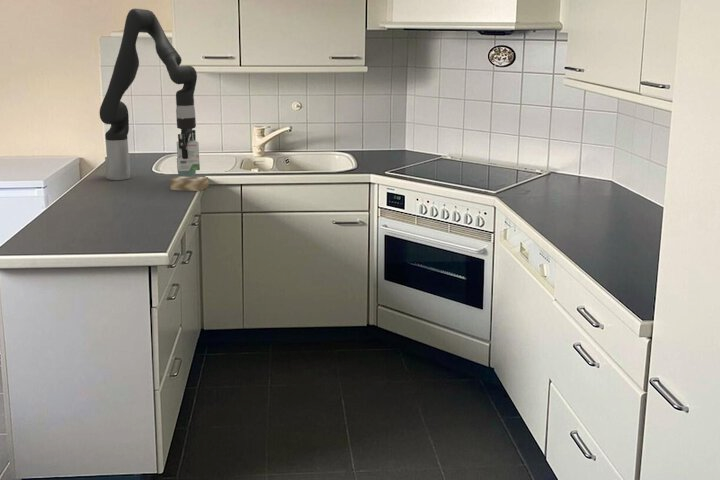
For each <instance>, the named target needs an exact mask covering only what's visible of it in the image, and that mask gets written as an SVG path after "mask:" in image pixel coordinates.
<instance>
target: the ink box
mask: <svg viewBox="0 0 720 480" xmlns="http://www.w3.org/2000/svg"><path fill="white" fill-rule="evenodd" d="M199 144H200V143H199V141H198V140H196V141H190V142H189V144H188V148H187V150H188V158H187V159H183V158H182V150H181V149H179V142H178V141H176V157H177V158H176V160H177V159H178V170H179V171H191V170H196V171H200V167H201V165H200V149H199V148H200V146H199ZM183 146H184V145H183ZM178 170H177V171H178Z"/></svg>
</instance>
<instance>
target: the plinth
mask: <svg viewBox="0 0 720 480" xmlns="http://www.w3.org/2000/svg"><path fill="white" fill-rule="evenodd" d="M169 184H170V191H189V192H190V191H191V192H194V191H195V192H196V191H197V192H202V191H204V190H205V189H207V188H209V186H210V185H209V177H208V176H195V177H185V176H176V177H174V178H172V179H169Z"/></svg>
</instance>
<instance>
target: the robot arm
mask: <svg viewBox="0 0 720 480" xmlns="http://www.w3.org/2000/svg"><path fill="white" fill-rule="evenodd" d="M125 18H126V19H125V23H124V26H123V27H124V28H123V34H122V38H121V43H120V47H119V50H118V53H117V57H116V60H115V64H114V67H113V71H112V74H111V78H110V81H109V85H108V88H107V90H106V92H105V95H104V98H103V99H102V100H103V101H102V103H101V105H100V108H99V118H100V120H101V122H103V124H105V125H110V128H109V129H108V130H107V131H106V132H105V135H104V136H105V137H104V138H105V150H106V156H105V157H104V161H105V175H106V177H105V178H106V180H110V181H111V180H112V181H123V180H129V179H130V178H131V168H130V167H131V166H130V156H129V155H130V154H129V153H130V152H129V141H128V140H129V139H128V135H129V131H130V126H129V124H130V121H129V118H130V116H129V108H128V106H127V105H126V104H125V102H123V101H122V98H123V96H124V94H126V92H127V90H128V89H129V88H130V86H131V85H132V84H133V82H134V81H135V79H136V76H137V72H138V70H139V66H140V59H139V56H138V52H137V51H138V50H137V40H138V36H139V34H140V33H143V34H145V33H147V34H148V35H149V36H150V37H151V38H152V39H153V40H154V46H155V51H156V54H157V56H158V58H159V59H160V60H161V62H162V63H163V64H164V65H165V67H166V71H167V73H168V76H169V78H170V80H171V82H173V83H174V84H176V85H183V86H182V88H181V89H179V90H177V91H176V93H175V104H176V107H175V114H176V115H175V116H176V128H177V129H180V133H178V134H177V139H178V142H179V149H181V150H182V158H183V159H187V158H188V150H187V148H188V144H189V142H190V141H197V140H196V128H197V124H196V123H197V122H196V119H197V118H196V108H195V97H194V95H195V90H196V86H197V85H196V84H197V80H198V73H197V71H196V69H195V68H194V67H193V66H192V65H181V64H182V62H183V61H182V60H183V59H182V57H181V55H180V54H179V53H178V51H177V50H176V49H175V48H174V46H173V44H171V42H170V40H169V38H168V37H167V35H166V32H165V31H164V28H162V25H161V23H160V21H159V19H158V17H157V16H156V15H155V13H154V12H153V11H151V10H150V9H145V8H144V9H143V8H131V10H129V11H128V12H127V15H126V17H125ZM183 145H184V146H183Z"/></svg>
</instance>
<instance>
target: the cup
mask: <svg viewBox="0 0 720 480" xmlns="http://www.w3.org/2000/svg"><path fill="white" fill-rule="evenodd" d="M176 167H177V168H176V169H177V175H178V176H185V177H196V174H197V170H191V171H179V170H178V159H177V158H176ZM178 176H177V177H178Z"/></svg>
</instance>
